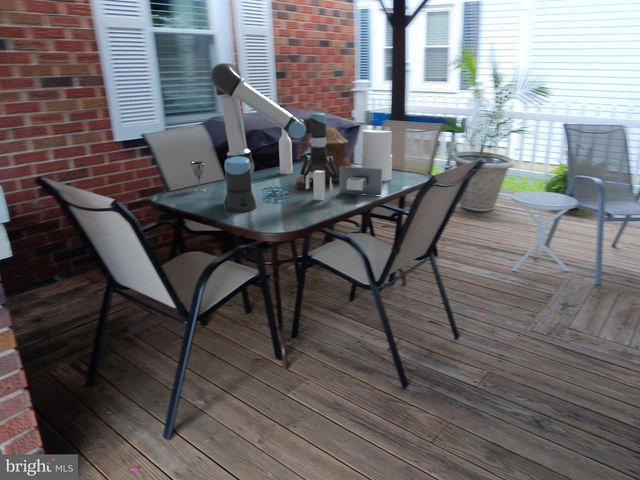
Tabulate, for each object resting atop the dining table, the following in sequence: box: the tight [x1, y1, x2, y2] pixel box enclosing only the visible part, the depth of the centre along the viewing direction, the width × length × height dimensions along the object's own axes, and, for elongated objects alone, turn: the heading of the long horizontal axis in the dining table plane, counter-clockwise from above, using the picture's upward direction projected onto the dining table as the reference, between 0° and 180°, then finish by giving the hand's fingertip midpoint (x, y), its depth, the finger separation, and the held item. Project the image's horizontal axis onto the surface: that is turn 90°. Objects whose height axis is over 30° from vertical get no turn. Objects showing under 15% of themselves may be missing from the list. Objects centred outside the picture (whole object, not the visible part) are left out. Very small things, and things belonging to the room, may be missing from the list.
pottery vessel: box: [306, 127, 352, 181], centre depth 279 cm, size 26×26×30 cm
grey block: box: [339, 166, 383, 196], centre depth 244 cm, size 12×22×14 cm, turn 70°
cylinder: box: [361, 129, 393, 181], centre depth 281 cm, size 17×17×28 cm
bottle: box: [278, 128, 294, 175], centre depth 299 cm, size 8×8×30 cm
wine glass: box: [189, 160, 207, 193], centre depth 262 cm, size 8×8×15 cm
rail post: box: [312, 170, 326, 201], centre depth 241 cm, size 4×4×14 cm
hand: (319, 189), depth 241 cm, fingers open, 12 cm apart
